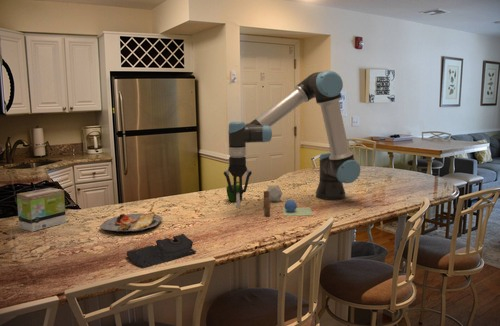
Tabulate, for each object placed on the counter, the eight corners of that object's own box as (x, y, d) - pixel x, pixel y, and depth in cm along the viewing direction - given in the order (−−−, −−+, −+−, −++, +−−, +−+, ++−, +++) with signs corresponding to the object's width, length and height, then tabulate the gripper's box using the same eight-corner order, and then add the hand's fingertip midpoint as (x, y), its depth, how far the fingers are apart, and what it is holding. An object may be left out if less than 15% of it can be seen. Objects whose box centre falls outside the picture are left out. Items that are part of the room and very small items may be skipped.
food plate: (115, 217, 180) (115, 210, 179) (167, 217, 179) (167, 209, 178) (92, 236, 155) (91, 227, 155) (152, 236, 154) (151, 227, 154)
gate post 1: (269, 207, 192) (269, 191, 191) (269, 208, 189) (269, 192, 188) (263, 207, 192) (263, 191, 191) (263, 208, 189) (263, 192, 188)
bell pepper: (223, 201, 204) (222, 182, 202) (231, 198, 211) (231, 179, 210) (237, 203, 200) (237, 183, 198) (245, 199, 207) (245, 180, 206)
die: (277, 205, 198) (286, 188, 200) (262, 196, 199) (271, 179, 201) (275, 206, 206) (285, 190, 208) (261, 198, 207) (270, 182, 209)
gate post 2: (269, 215, 180) (269, 197, 178) (270, 216, 177) (269, 198, 176) (264, 215, 180) (263, 197, 178) (264, 216, 177) (264, 199, 176)
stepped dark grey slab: (121, 257, 135) (120, 243, 134) (179, 242, 149) (178, 229, 148) (140, 271, 123) (139, 257, 123) (201, 253, 137) (201, 240, 136)
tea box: (32, 232, 160) (29, 196, 158) (19, 228, 165) (15, 193, 163) (67, 222, 173) (64, 189, 170) (53, 219, 178) (50, 186, 176)
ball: (285, 197, 186) (283, 209, 187) (285, 201, 180) (284, 212, 181) (297, 199, 186) (295, 210, 187) (297, 202, 180) (296, 214, 181)
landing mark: (309, 207, 190) (309, 207, 190) (313, 215, 178) (313, 215, 178) (282, 207, 191) (282, 207, 191) (284, 215, 178) (284, 215, 178)
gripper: (222, 157, 177) (223, 209, 181) (251, 157, 177) (252, 209, 181) (223, 155, 185) (224, 205, 188) (252, 155, 184) (252, 205, 188)
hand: (238, 207), depth 184 cm, fingers closed
